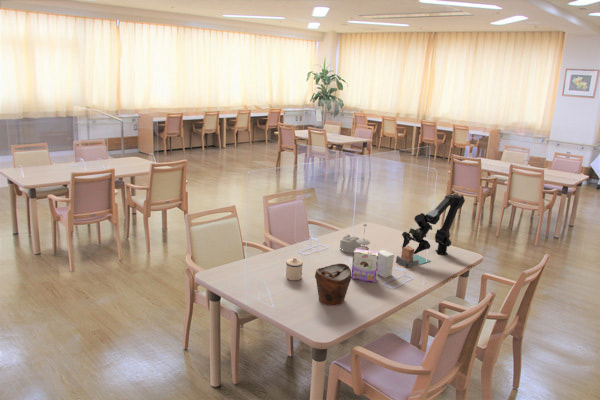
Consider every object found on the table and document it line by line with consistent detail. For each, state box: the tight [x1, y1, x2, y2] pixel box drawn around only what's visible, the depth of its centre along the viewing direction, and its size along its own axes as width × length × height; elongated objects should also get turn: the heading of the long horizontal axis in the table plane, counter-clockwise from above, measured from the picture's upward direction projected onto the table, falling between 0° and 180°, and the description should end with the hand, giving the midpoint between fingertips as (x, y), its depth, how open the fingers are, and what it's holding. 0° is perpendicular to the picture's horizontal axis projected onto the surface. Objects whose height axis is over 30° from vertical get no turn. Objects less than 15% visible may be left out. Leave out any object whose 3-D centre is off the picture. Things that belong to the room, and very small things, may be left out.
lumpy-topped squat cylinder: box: [339, 234, 362, 253], centre depth 315 cm, size 10×13×9 cm
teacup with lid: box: [285, 256, 303, 281], centre depth 273 cm, size 12×9×12 cm
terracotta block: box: [400, 245, 415, 262], centre depth 298 cm, size 5×5×10 cm
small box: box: [377, 249, 395, 278], centre depth 281 cm, size 8×6×13 cm
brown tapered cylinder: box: [314, 263, 352, 307], centre depth 248 cm, size 18×20×18 cm
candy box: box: [351, 248, 380, 284], centre depth 274 cm, size 14×6×16 cm, turn 71°
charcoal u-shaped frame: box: [395, 255, 419, 268], centre depth 299 cm, size 10×9×4 cm
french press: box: [357, 223, 371, 251], centre depth 294 cm, size 10×12×25 cm
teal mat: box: [413, 254, 431, 266], centre depth 306 cm, size 10×11×1 cm
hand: (408, 251), depth 297 cm, fingers open, 9 cm apart
